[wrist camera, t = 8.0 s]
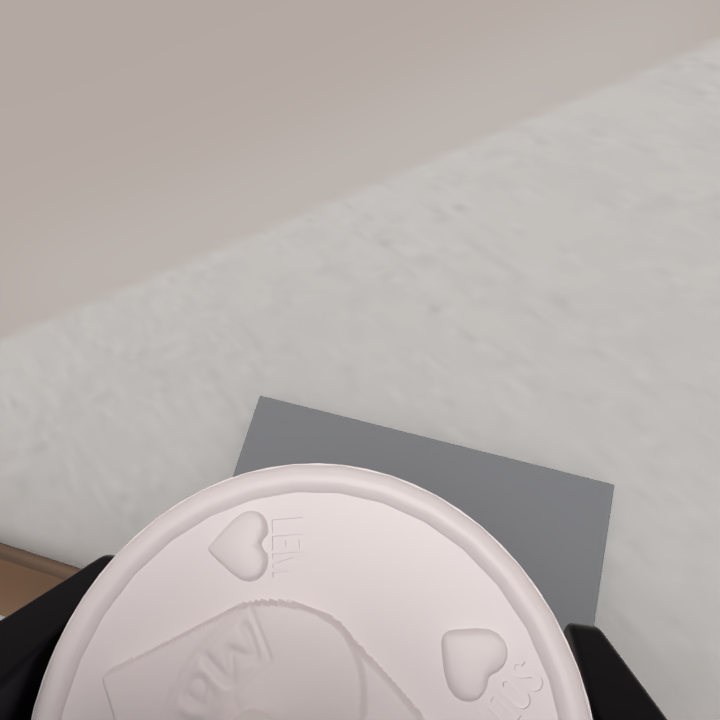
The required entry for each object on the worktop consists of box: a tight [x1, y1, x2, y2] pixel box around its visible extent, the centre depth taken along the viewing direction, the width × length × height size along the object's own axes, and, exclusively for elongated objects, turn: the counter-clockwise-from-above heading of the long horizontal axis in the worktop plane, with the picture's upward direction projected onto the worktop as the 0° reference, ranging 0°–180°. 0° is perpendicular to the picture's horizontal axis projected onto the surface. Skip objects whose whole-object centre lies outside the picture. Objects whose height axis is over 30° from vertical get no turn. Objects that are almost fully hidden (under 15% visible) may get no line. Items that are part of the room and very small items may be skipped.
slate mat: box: [233, 396, 614, 633], centre depth 20 cm, size 13×13×1 cm
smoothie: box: [31, 463, 593, 720], centre depth 9 cm, size 6×6×14 cm
